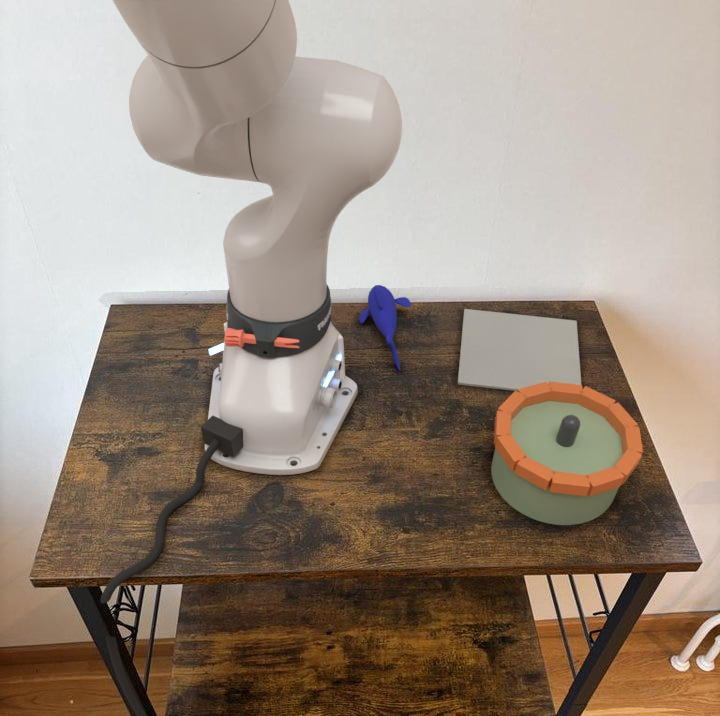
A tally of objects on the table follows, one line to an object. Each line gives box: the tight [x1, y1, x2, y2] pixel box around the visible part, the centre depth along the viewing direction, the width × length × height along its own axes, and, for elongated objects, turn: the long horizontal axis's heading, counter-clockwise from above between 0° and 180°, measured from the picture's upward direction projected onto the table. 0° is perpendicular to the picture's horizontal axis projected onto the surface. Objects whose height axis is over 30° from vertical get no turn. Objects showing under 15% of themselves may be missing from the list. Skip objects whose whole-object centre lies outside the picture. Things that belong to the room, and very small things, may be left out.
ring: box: [493, 382, 644, 496], centre depth 80 cm, size 16×16×2 cm
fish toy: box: [358, 284, 412, 372], centre depth 99 cm, size 15×8×7 cm, turn 7°
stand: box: [490, 401, 623, 526], centre depth 82 cm, size 14×14×10 cm
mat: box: [457, 308, 582, 392], centre depth 100 cm, size 16×16×1 cm
